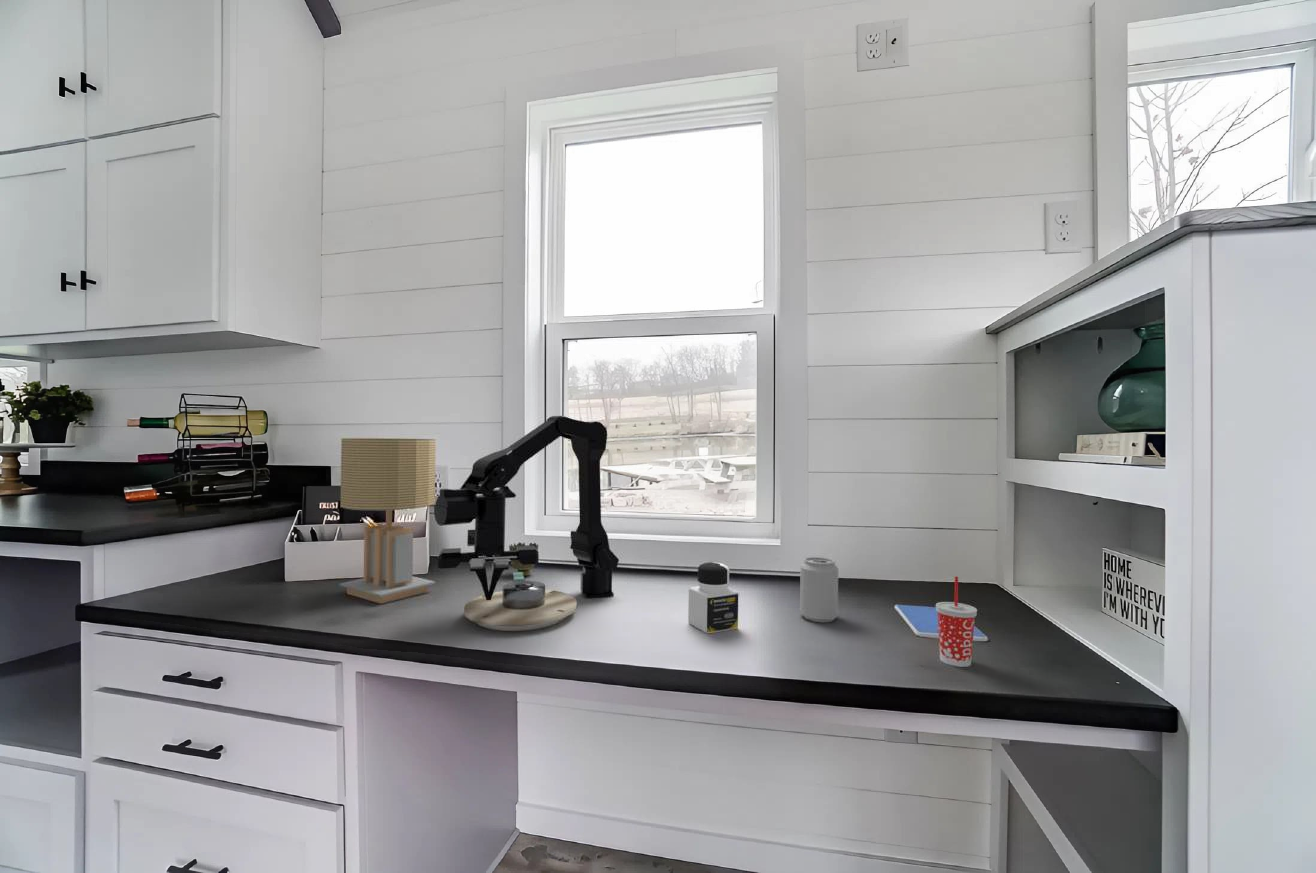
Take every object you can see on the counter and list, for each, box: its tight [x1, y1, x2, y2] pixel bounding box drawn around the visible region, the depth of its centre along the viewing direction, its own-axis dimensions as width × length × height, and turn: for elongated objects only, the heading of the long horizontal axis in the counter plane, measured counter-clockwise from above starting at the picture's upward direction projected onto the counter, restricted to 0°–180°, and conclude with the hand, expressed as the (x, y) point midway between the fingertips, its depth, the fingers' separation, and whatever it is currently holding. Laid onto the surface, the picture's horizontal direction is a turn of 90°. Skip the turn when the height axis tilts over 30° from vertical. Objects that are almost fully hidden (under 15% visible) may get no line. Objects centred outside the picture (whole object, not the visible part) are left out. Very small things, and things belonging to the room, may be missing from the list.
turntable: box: [463, 572, 578, 626], centre depth 115 cm, size 22×22×4 cm
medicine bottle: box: [687, 561, 739, 635], centre depth 110 cm, size 7×7×12 cm
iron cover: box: [501, 580, 546, 610], centre depth 115 cm, size 8×8×4 cm
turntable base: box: [476, 618, 565, 632], centre depth 115 cm, size 18×18×1 cm
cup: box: [508, 541, 539, 577], centre depth 148 cm, size 8×7×8 cm
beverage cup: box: [935, 576, 978, 668], centre depth 94 cm, size 6×6×14 cm
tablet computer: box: [894, 604, 989, 642], centre depth 114 cm, size 19×13×1 cm, turn 169°
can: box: [799, 556, 839, 623], centre depth 116 cm, size 8×8×12 cm
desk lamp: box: [339, 437, 436, 604], centre depth 130 cm, size 20×20×35 cm
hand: (488, 599), depth 113 cm, fingers closed
